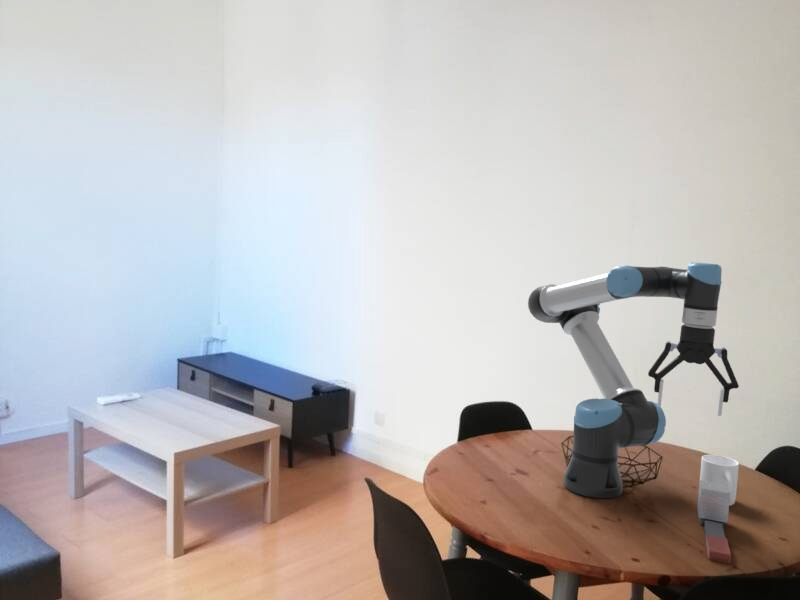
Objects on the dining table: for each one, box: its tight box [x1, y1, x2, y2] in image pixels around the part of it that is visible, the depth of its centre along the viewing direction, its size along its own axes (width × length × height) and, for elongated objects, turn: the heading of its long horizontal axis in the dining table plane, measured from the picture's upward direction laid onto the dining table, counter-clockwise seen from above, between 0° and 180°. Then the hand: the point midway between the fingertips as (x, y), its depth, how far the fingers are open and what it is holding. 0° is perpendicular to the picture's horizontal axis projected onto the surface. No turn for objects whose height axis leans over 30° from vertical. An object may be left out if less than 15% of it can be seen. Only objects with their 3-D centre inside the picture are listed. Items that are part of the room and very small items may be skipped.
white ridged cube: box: [696, 479, 730, 524], centre depth 145 cm, size 6×6×7 cm
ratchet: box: [698, 517, 732, 565], centre depth 137 cm, size 23×5×6 cm, turn 157°
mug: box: [699, 454, 740, 507], centre depth 158 cm, size 9×12×11 cm
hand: (688, 409), depth 153 cm, fingers open, 13 cm apart
